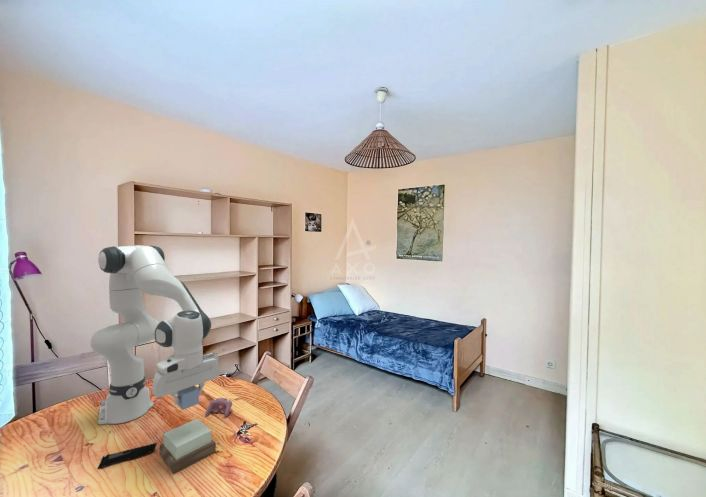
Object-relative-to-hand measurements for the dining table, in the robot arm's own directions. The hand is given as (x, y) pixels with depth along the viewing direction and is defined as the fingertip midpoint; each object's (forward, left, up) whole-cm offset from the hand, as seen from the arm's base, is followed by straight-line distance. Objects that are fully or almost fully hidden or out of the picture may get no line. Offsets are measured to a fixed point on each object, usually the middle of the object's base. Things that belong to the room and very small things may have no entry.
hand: (187, 399), depth 99 cm
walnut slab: (0, 0, -19) cm, 19 cm away
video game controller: (-16, +18, -19) cm, 31 cm away
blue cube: (0, 0, -2) cm, 2 cm away
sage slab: (0, 0, -15) cm, 15 cm away
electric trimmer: (-13, -14, -19) cm, 27 cm away
